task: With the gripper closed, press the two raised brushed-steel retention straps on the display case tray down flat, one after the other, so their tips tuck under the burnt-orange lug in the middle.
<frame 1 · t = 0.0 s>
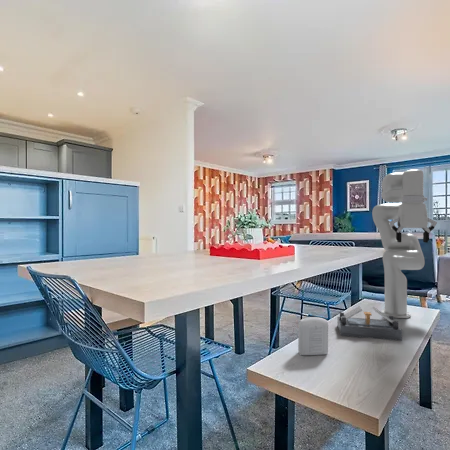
hand: (412, 242, 128), 37 cm above the bench, tool pointing down, fingers open, 9 cm apart
photo printer: (313, 353, 107), on the bench
display case tray: (367, 332, 127), on the bench
strap b: (384, 316, 125), point 7 cm above the bench, hinge at 35.0°
strap a: (351, 313, 128), point 7 cm above the bench, hinge at 35.0°
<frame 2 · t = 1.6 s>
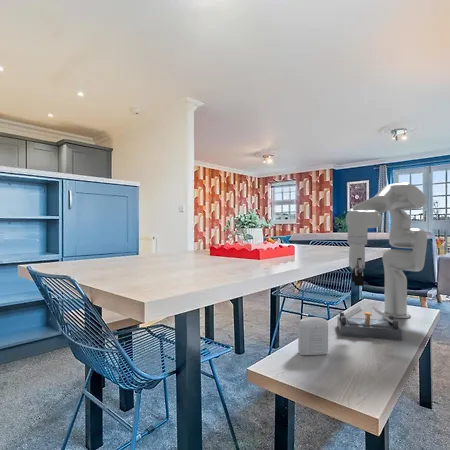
hand: (357, 283, 128), 20 cm above the bench, tool pointing down, fingers open, 7 cm apart
nothing on the bench moved.
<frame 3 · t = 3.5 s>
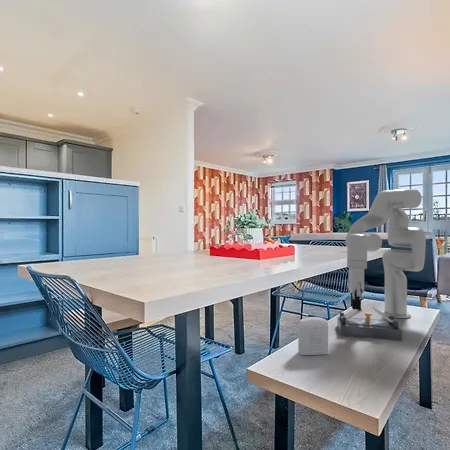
hand: (356, 308, 127), 10 cm above the bench, tool pointing down, fingers closed
strap a: (351, 314, 128), point 7 cm above the bench, hinge at 33.7°, touching gripper
everything else where it was.
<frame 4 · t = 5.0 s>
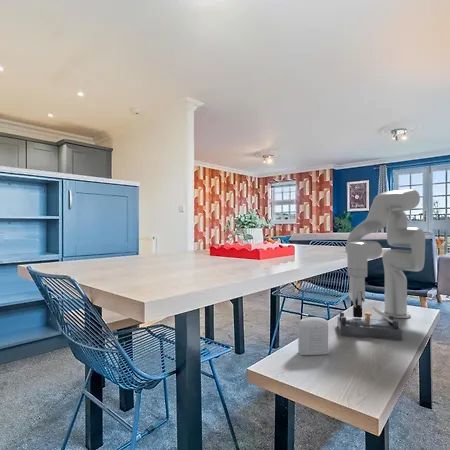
hand: (357, 316, 128), 6 cm above the bench, tool pointing down, fingers closed
strap a: (352, 319, 128), point 5 cm above the bench, hinge at 2.3°
everything else where it was.
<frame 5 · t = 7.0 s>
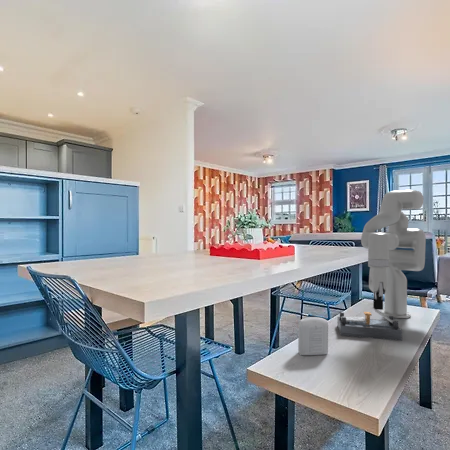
hand: (378, 308, 126), 10 cm above the bench, tool pointing down, fingers closed
strap b: (384, 316, 125), point 7 cm above the bench, hinge at 34.9°, touching gripper
everything else where it was.
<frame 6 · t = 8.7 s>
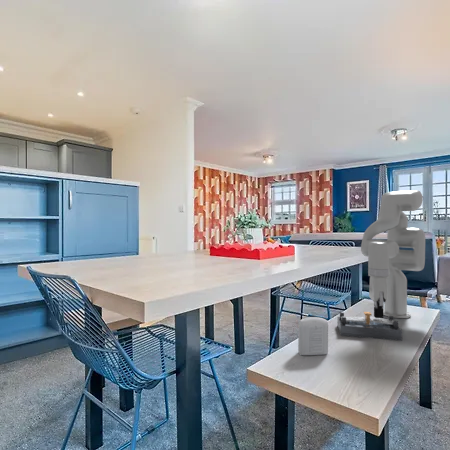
hand: (378, 317, 126), 6 cm above the bench, tool pointing down, fingers closed
strap b: (382, 320, 125), point 5 cm above the bench, hinge at 4.0°
everything else where it was.
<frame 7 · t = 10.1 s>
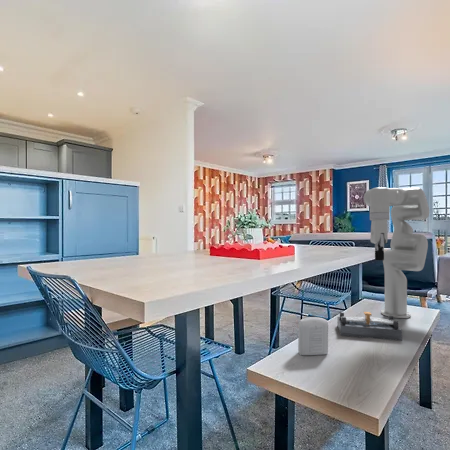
hand: (379, 259, 133), 29 cm above the bench, tool pointing down, fingers closed
nothing on the bench moved.
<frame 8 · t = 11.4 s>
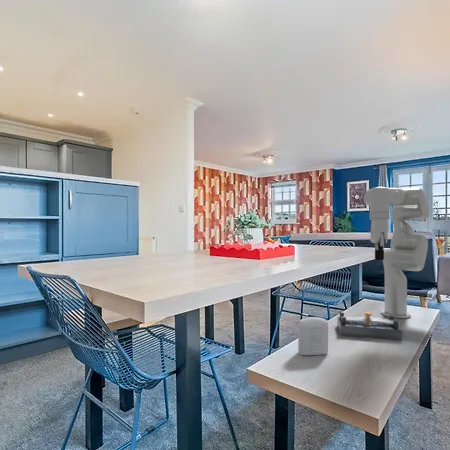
hand: (379, 259, 133), 29 cm above the bench, tool pointing down, fingers closed
nothing on the bench moved.
at the end: strap a at +2° (first picture: +35°); strap b at +4° (first picture: +35°); photo printer moved 0.3 cm from its start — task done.
